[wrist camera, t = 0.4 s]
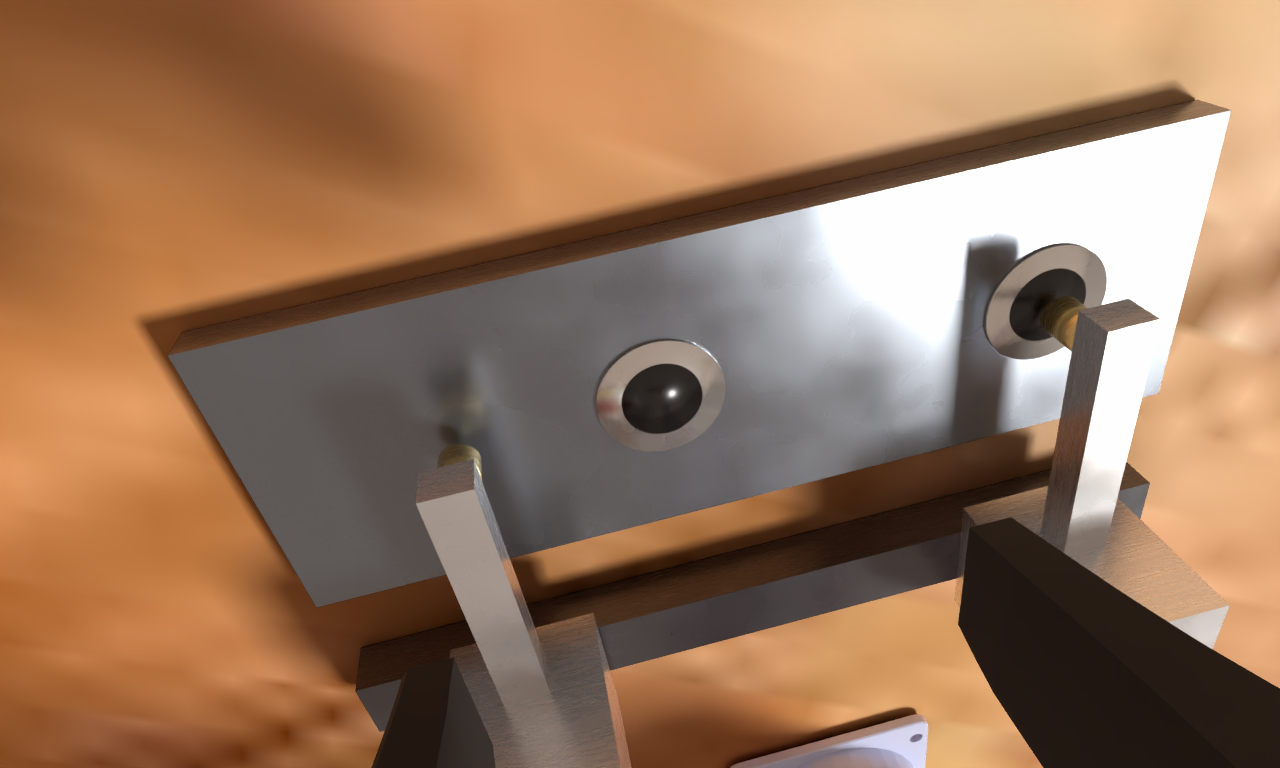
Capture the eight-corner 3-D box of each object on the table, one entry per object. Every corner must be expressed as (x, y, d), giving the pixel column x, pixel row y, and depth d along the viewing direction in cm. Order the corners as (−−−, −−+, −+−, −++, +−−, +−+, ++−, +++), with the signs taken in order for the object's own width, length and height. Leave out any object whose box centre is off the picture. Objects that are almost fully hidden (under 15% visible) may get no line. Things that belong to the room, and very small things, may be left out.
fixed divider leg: (1072, 567, 25) (1190, 702, 21) (954, 599, 25) (1051, 742, 21) (1139, 257, 19) (1324, 364, 15) (983, 295, 19) (1129, 413, 15)
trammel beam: (1105, 498, 26) (1137, 530, 25) (383, 688, 25) (379, 731, 23) (1115, 452, 25) (1149, 482, 24) (360, 648, 24) (355, 691, 22)
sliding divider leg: (617, 693, 24) (650, 869, 20) (489, 727, 24) (495, 913, 20) (533, 406, 18) (555, 572, 14) (359, 448, 18) (327, 631, 14)
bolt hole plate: (1133, 374, 23) (1162, 396, 22) (322, 579, 22) (315, 612, 21) (1197, 99, 19) (1236, 112, 18) (181, 332, 17) (165, 359, 16)
